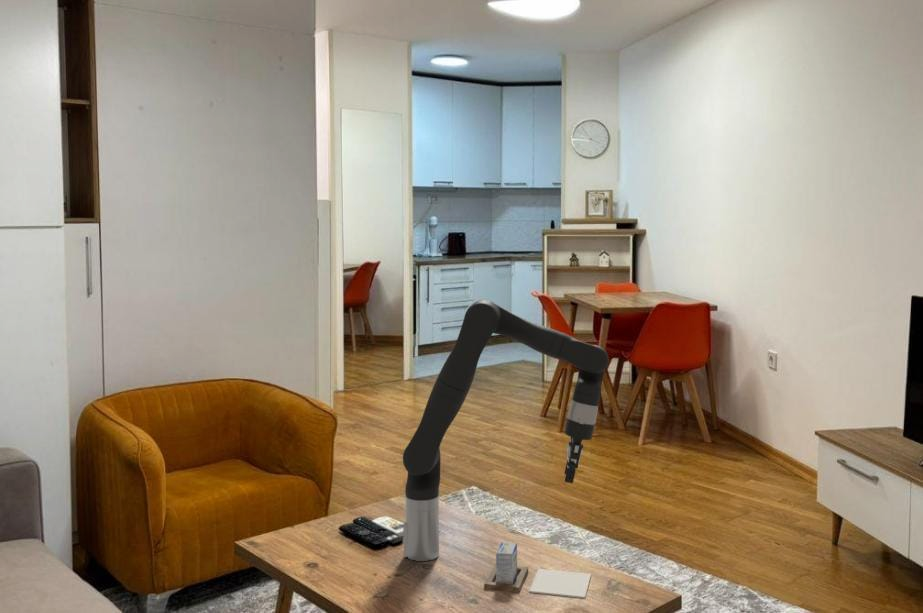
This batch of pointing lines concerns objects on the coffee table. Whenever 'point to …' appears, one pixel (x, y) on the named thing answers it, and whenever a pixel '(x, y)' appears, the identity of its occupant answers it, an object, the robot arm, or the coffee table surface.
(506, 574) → the medicine box
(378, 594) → the coffee table surface
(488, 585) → the box holder
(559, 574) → the grey mat
